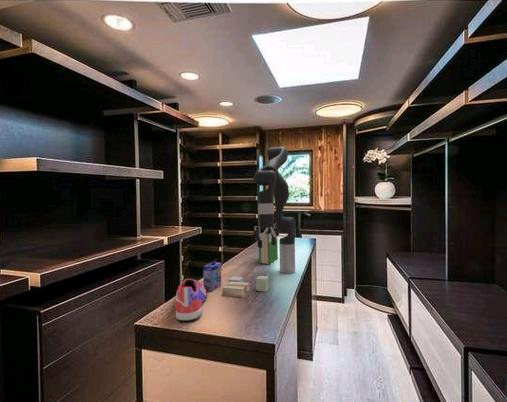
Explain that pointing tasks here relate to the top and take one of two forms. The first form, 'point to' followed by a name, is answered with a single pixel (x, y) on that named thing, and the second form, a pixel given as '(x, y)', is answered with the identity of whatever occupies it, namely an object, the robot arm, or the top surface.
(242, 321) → the top surface
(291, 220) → the robot arm
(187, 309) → the soccer shoe
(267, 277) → the sage block
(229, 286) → the maple block
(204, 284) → the ink cartridge box
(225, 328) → the top surface
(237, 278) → the grey block
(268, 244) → the hardback book
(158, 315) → the top surface
